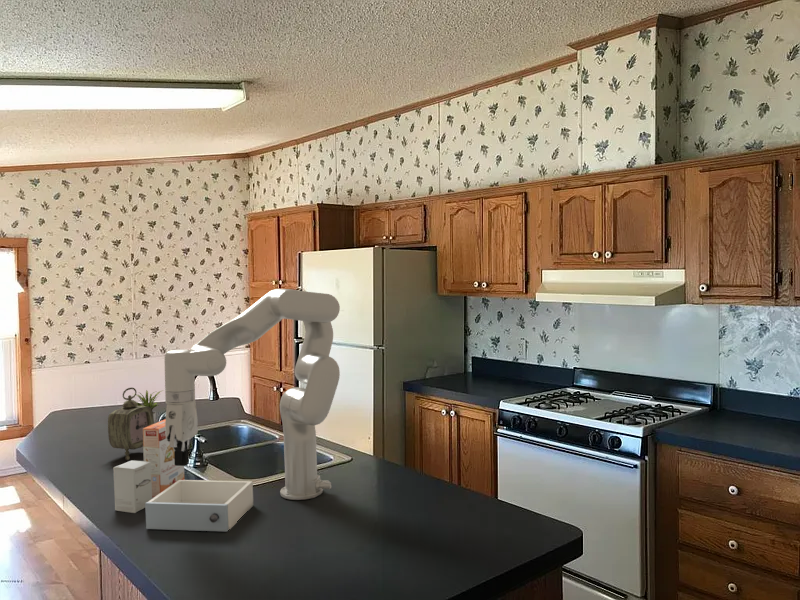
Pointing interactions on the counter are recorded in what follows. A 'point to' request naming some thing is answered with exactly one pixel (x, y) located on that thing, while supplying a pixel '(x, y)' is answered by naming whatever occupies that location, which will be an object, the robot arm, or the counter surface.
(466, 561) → the counter surface
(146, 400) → the house plant
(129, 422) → the tabletop clock
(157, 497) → the case
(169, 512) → the side door
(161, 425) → the cracker box
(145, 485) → the supplement box
